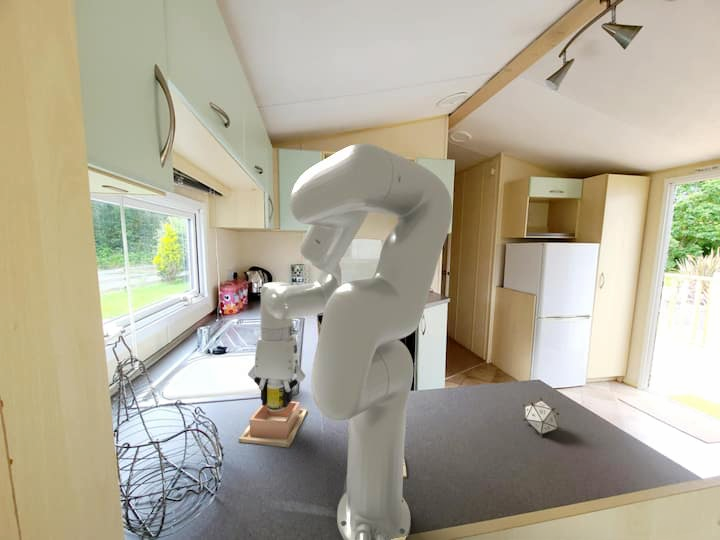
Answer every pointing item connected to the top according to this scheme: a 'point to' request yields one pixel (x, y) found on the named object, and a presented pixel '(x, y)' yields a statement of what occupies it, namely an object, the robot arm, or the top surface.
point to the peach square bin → (274, 422)
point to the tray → (274, 441)
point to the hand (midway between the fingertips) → (276, 402)
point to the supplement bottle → (275, 395)
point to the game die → (541, 417)
